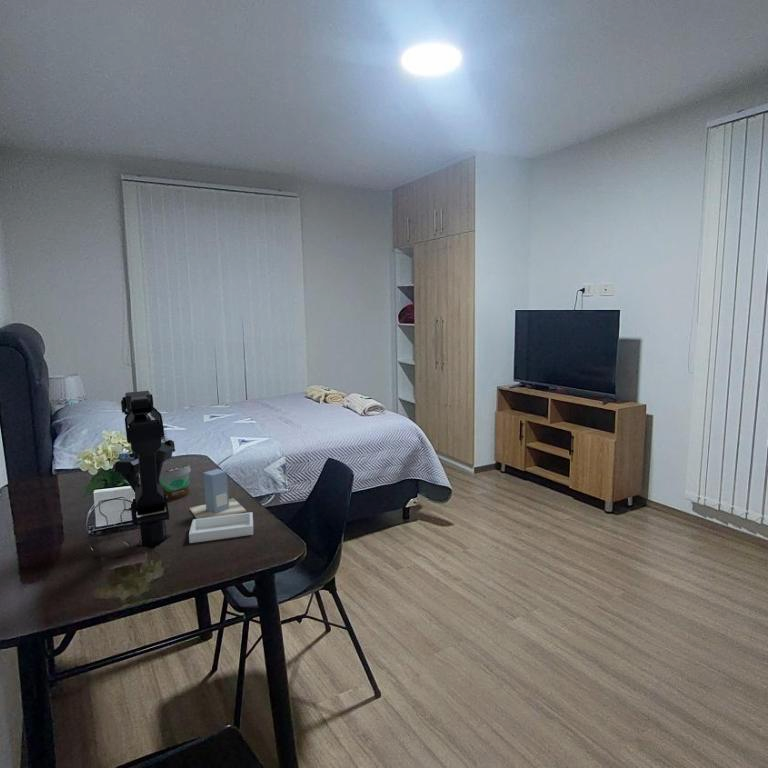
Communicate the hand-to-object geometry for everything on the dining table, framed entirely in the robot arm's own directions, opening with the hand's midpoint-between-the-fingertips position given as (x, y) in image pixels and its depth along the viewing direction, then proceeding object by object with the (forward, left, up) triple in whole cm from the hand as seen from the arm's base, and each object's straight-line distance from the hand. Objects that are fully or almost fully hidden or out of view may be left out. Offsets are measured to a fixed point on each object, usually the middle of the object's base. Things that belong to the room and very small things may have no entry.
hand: (147, 486), depth 152 cm
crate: (-2, -24, -12) cm, 27 cm away
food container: (+24, +6, -12) cm, 28 cm away
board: (+12, -15, -12) cm, 23 cm away
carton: (+12, -15, -11) cm, 22 cm away
